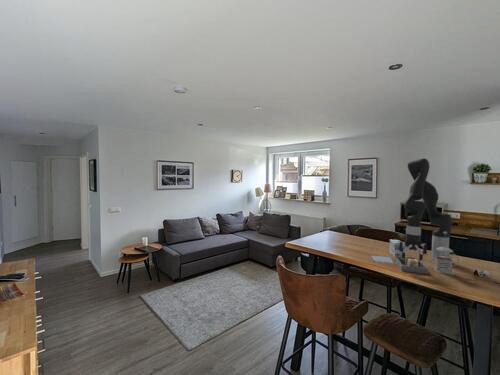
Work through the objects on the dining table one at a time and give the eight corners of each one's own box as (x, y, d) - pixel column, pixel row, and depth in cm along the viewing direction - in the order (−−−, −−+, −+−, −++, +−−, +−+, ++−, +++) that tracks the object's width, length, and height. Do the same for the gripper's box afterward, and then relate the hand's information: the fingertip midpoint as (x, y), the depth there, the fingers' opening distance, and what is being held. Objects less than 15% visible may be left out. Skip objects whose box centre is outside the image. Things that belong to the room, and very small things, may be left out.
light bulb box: (404, 258, 169) (405, 243, 168) (394, 257, 170) (394, 242, 170) (398, 253, 179) (399, 239, 179) (388, 253, 181) (389, 239, 180)
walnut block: (412, 265, 154) (413, 256, 154) (414, 267, 150) (415, 258, 150) (404, 264, 156) (404, 255, 155) (406, 266, 151) (406, 257, 151)
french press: (433, 267, 151) (435, 229, 150) (457, 272, 144) (459, 231, 143) (432, 272, 144) (434, 231, 143) (458, 277, 136) (460, 234, 135)
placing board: (390, 258, 168) (390, 257, 168) (393, 263, 157) (393, 263, 157) (371, 256, 173) (371, 255, 173) (373, 261, 162) (373, 260, 162)
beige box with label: (415, 268, 148) (416, 259, 147) (417, 271, 143) (418, 261, 143) (407, 267, 149) (407, 258, 149) (409, 270, 145) (409, 260, 145)
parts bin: (419, 265, 154) (420, 260, 154) (428, 274, 140) (428, 268, 140) (395, 262, 159) (396, 257, 159) (401, 271, 145) (401, 265, 145)
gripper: (425, 233, 146) (423, 259, 147) (398, 230, 152) (397, 255, 152) (429, 236, 140) (427, 263, 140) (401, 233, 145) (399, 259, 145)
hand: (411, 259), depth 146 cm, fingers open, 8 cm apart
